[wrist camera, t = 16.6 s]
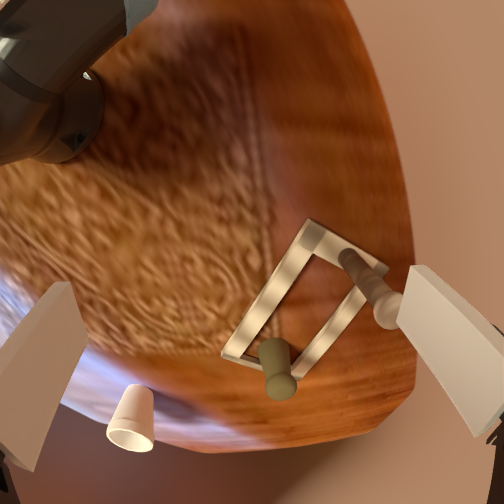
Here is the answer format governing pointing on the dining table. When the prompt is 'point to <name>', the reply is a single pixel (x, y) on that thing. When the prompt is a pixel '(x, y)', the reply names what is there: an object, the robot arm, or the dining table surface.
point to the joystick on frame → (366, 289)
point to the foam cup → (133, 420)
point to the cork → (277, 369)
